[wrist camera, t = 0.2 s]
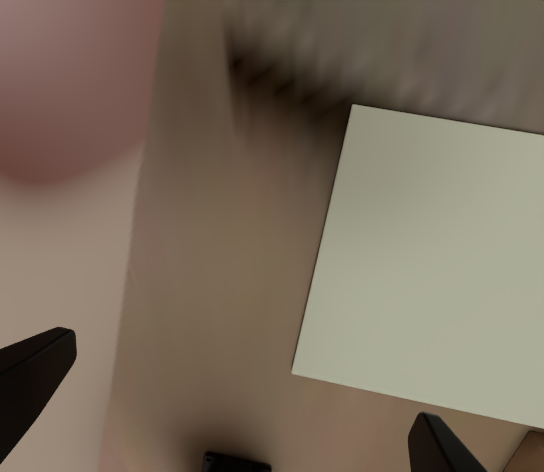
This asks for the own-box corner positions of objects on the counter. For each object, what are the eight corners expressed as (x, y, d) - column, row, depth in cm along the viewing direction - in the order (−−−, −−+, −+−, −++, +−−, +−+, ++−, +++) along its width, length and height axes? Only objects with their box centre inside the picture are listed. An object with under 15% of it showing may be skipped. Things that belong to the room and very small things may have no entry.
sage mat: (548, 424, 25) (553, 430, 25) (291, 368, 27) (291, 373, 26) (723, 165, 18) (734, 166, 17) (352, 104, 19) (352, 104, 19)
